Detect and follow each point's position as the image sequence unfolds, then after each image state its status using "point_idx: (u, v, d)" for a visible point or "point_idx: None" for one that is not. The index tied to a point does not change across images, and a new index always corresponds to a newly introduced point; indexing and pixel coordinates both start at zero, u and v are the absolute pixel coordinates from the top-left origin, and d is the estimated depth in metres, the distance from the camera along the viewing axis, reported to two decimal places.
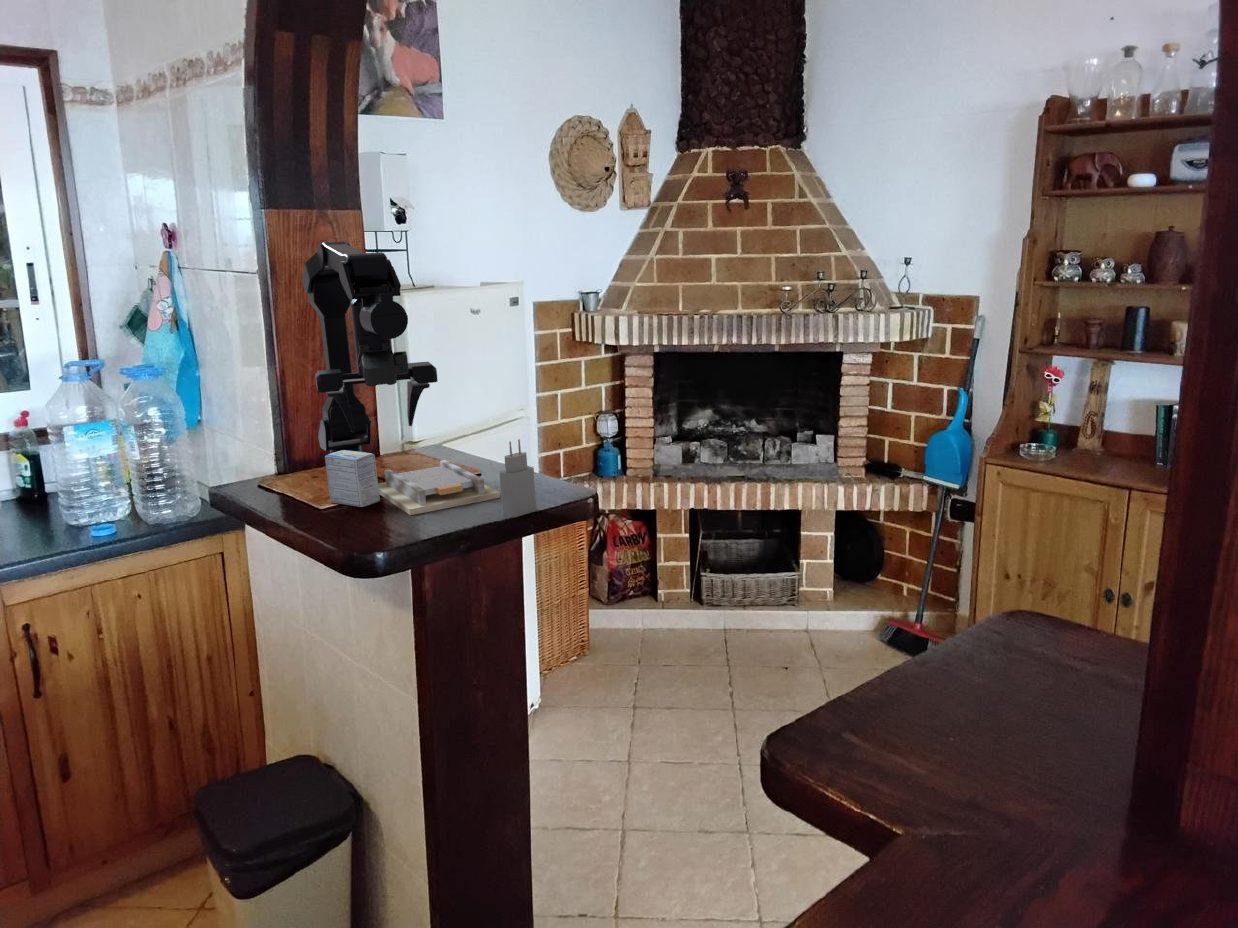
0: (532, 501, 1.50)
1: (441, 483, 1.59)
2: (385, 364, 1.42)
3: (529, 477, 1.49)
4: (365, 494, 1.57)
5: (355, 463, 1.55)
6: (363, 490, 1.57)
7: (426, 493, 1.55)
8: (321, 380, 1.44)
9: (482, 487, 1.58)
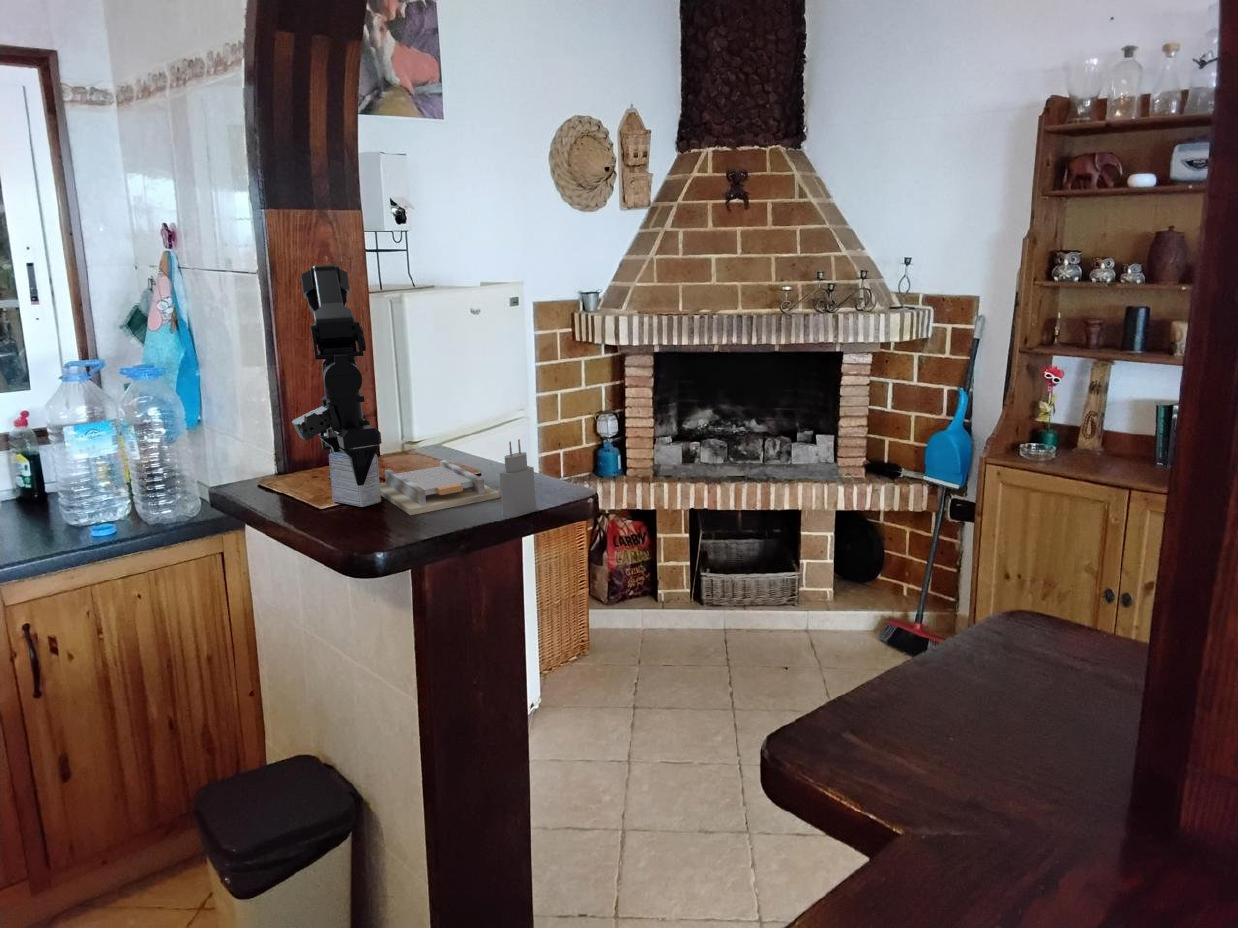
0: (532, 501, 1.50)
1: (441, 483, 1.59)
2: (300, 421, 1.52)
3: (529, 477, 1.49)
4: (366, 494, 1.57)
5: None
6: (364, 490, 1.56)
7: (426, 493, 1.55)
8: None
9: (482, 487, 1.58)
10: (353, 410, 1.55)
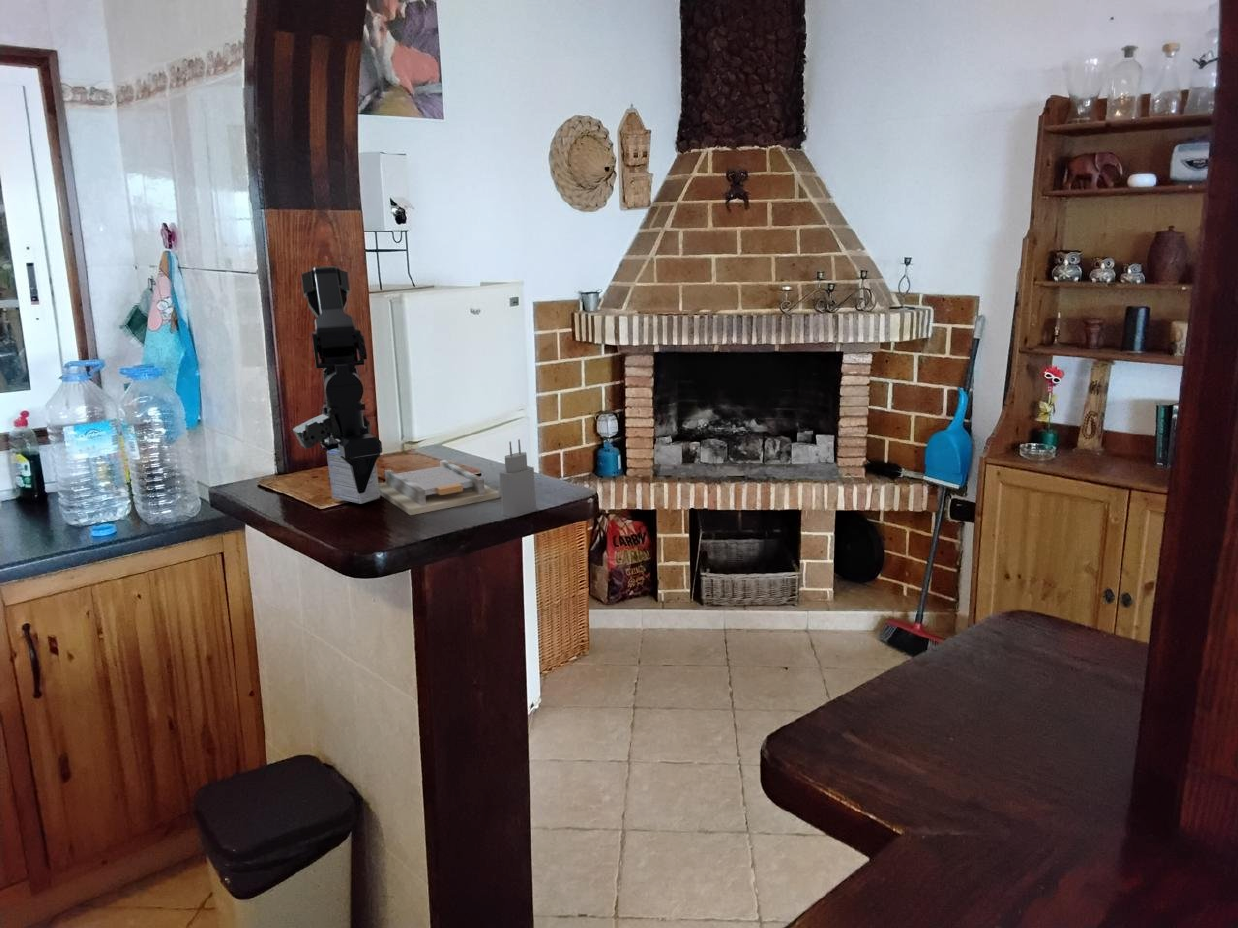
0: (532, 501, 1.50)
1: (441, 483, 1.59)
2: (301, 429, 1.53)
3: (529, 477, 1.49)
4: (365, 491, 1.57)
5: None
6: None
7: (426, 493, 1.55)
8: None
9: (482, 487, 1.58)
10: (354, 418, 1.55)
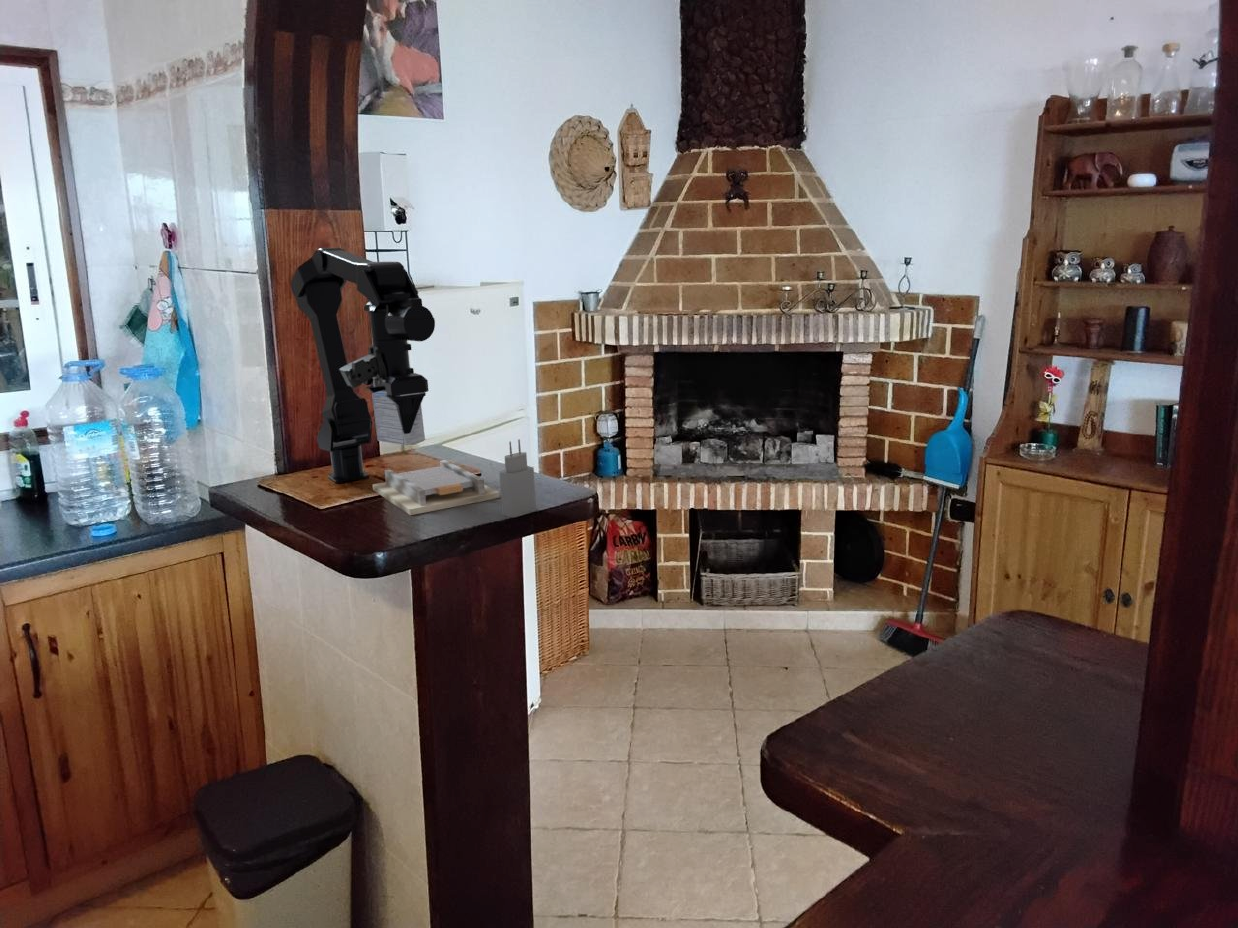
0: (532, 501, 1.50)
1: (441, 483, 1.59)
2: (348, 368, 1.52)
3: (529, 477, 1.49)
4: (410, 432, 1.56)
5: None
6: None
7: (426, 493, 1.55)
8: None
9: (482, 487, 1.58)
10: (400, 358, 1.54)
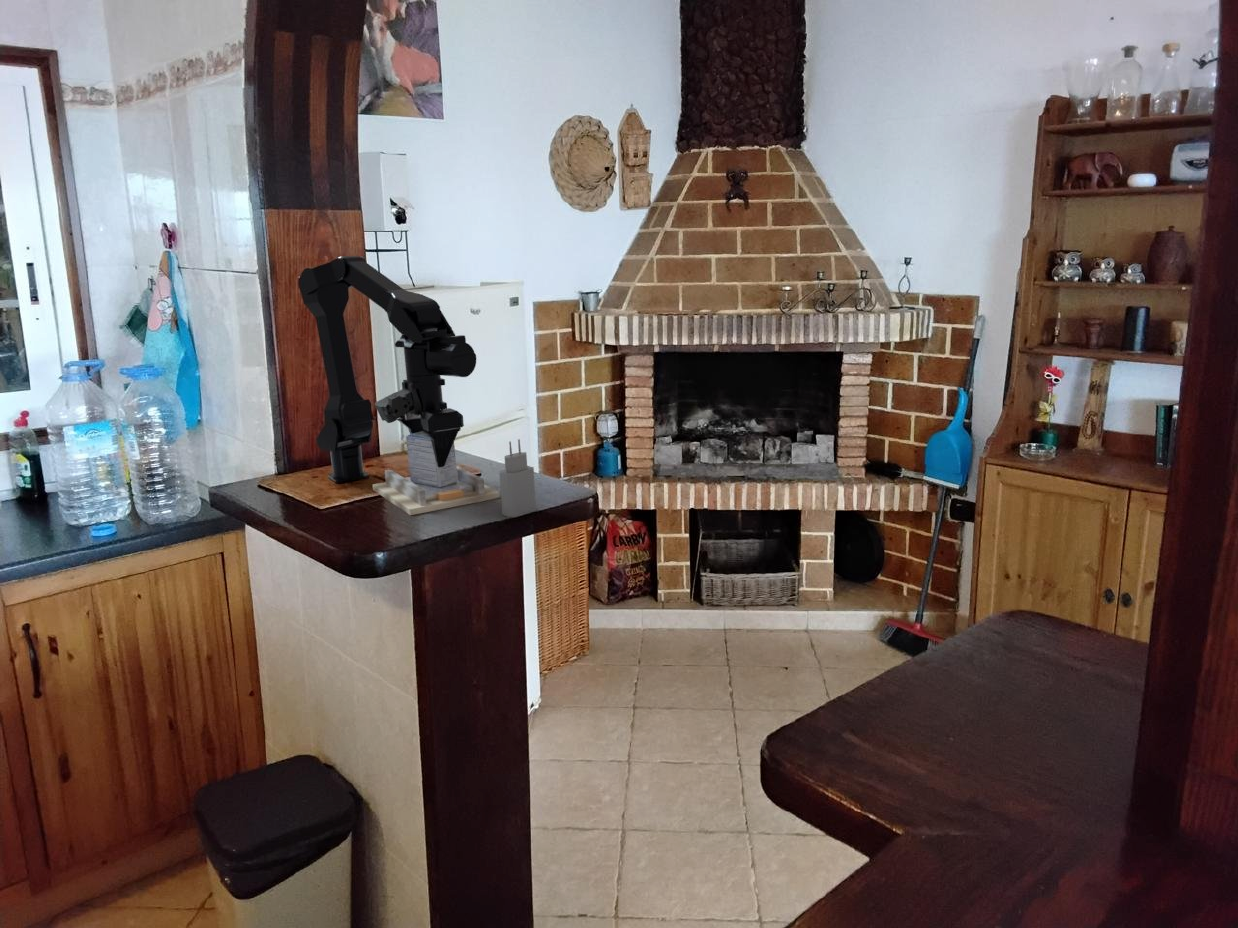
0: (532, 501, 1.50)
1: (442, 489, 1.59)
2: (384, 403, 1.55)
3: (529, 477, 1.49)
4: (444, 474, 1.60)
5: None
6: (442, 470, 1.59)
7: (427, 499, 1.56)
8: None
9: (482, 487, 1.58)
10: (434, 393, 1.57)
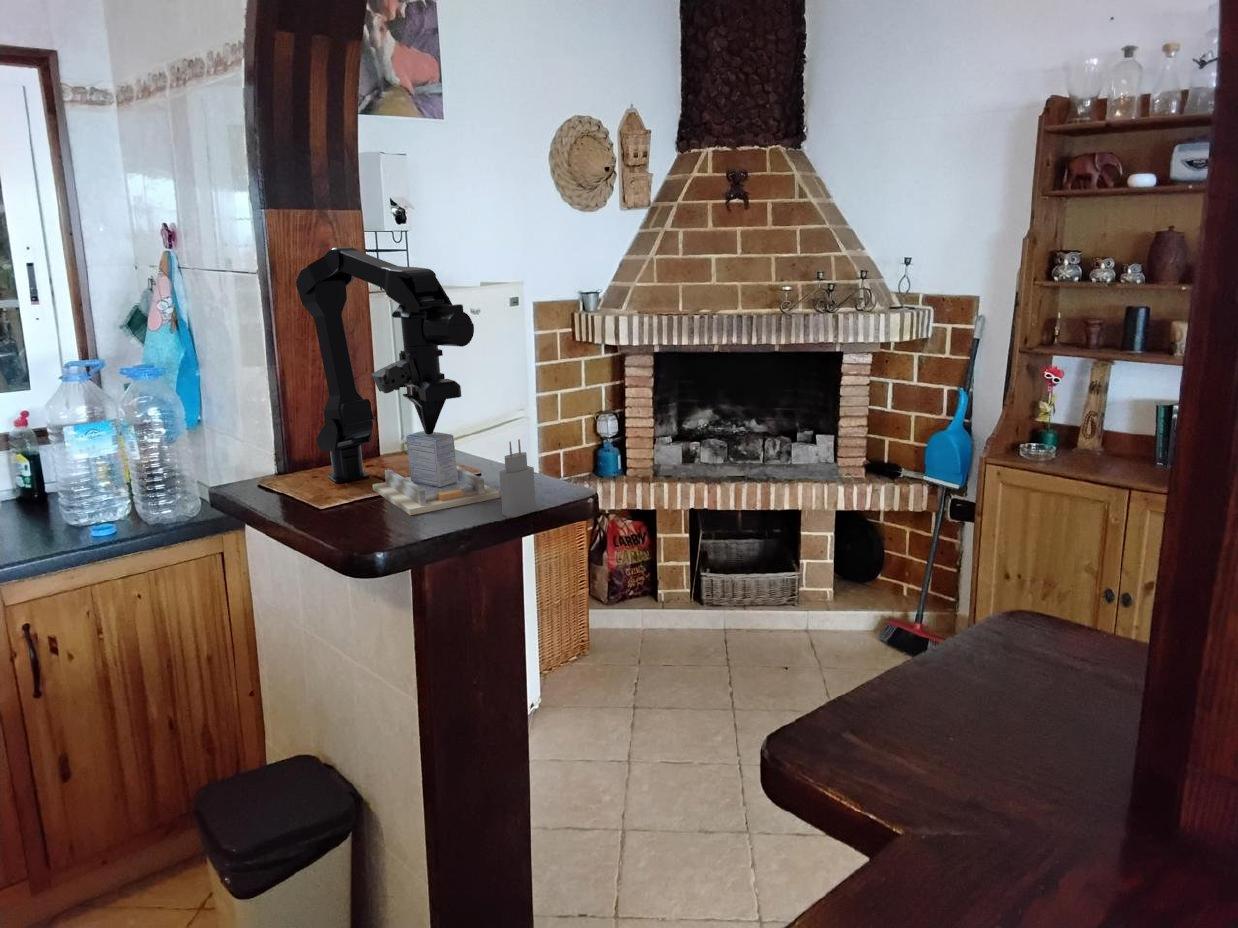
0: (532, 501, 1.50)
1: (442, 489, 1.59)
2: (381, 373, 1.54)
3: (529, 477, 1.49)
4: (444, 474, 1.60)
5: (434, 443, 1.58)
6: (442, 470, 1.59)
7: (427, 499, 1.56)
8: None
9: (482, 487, 1.58)
10: (432, 364, 1.56)
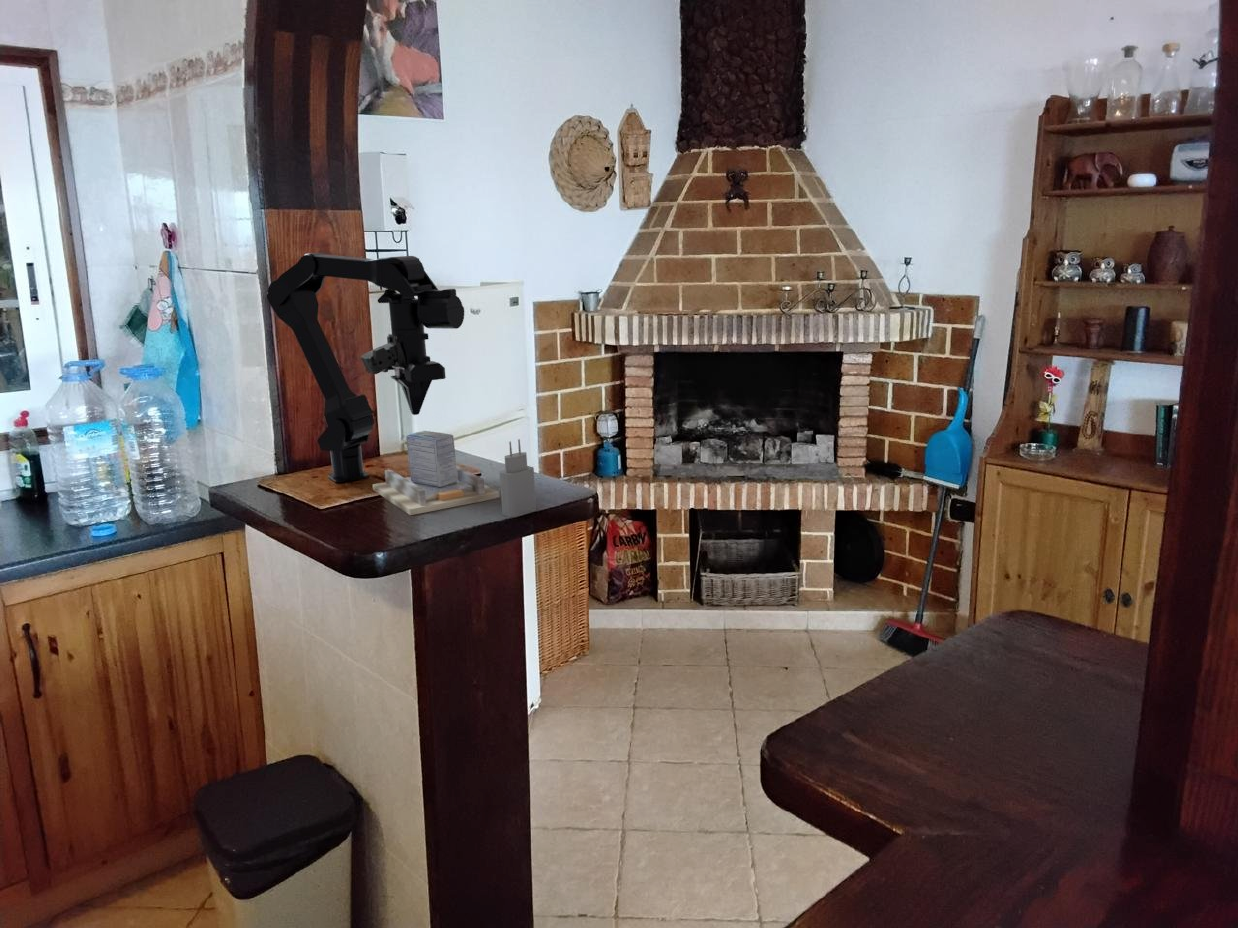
0: (532, 501, 1.50)
1: (442, 489, 1.59)
2: (369, 355, 1.61)
3: (529, 477, 1.49)
4: (444, 474, 1.60)
5: (434, 443, 1.58)
6: (442, 470, 1.59)
7: (427, 499, 1.56)
8: None
9: (482, 487, 1.58)
10: (418, 347, 1.63)
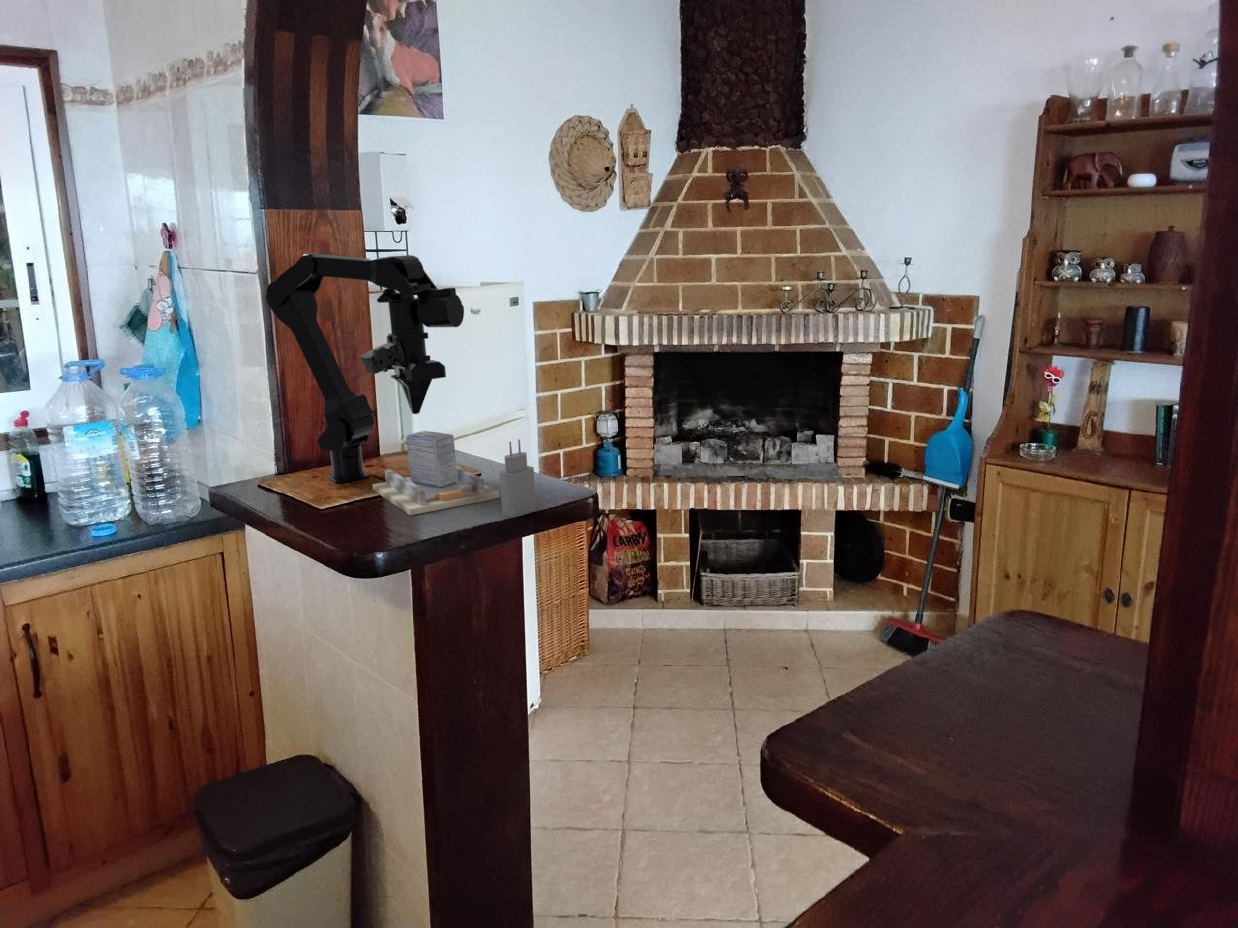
0: (532, 501, 1.50)
1: (442, 489, 1.59)
2: (369, 355, 1.61)
3: (529, 477, 1.49)
4: (444, 474, 1.60)
5: (434, 443, 1.58)
6: (442, 470, 1.59)
7: (427, 499, 1.56)
8: None
9: (482, 487, 1.58)
10: (418, 346, 1.64)
